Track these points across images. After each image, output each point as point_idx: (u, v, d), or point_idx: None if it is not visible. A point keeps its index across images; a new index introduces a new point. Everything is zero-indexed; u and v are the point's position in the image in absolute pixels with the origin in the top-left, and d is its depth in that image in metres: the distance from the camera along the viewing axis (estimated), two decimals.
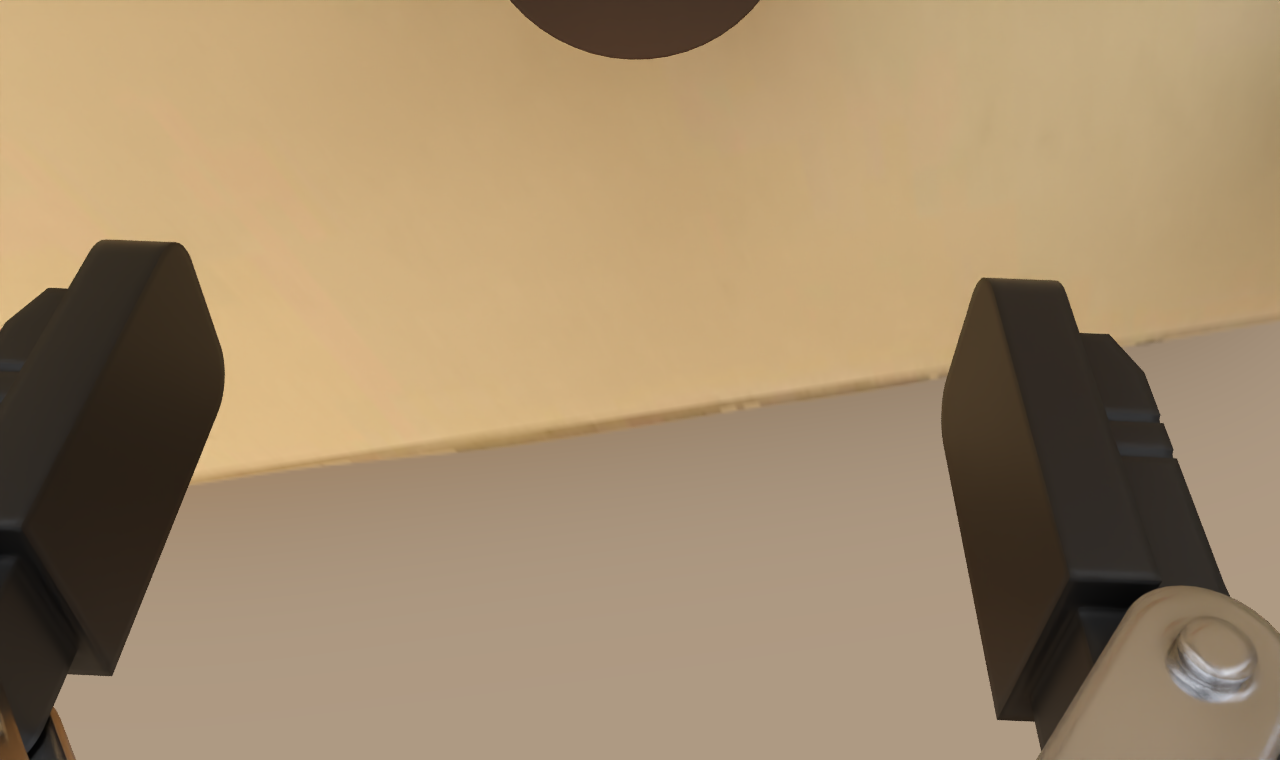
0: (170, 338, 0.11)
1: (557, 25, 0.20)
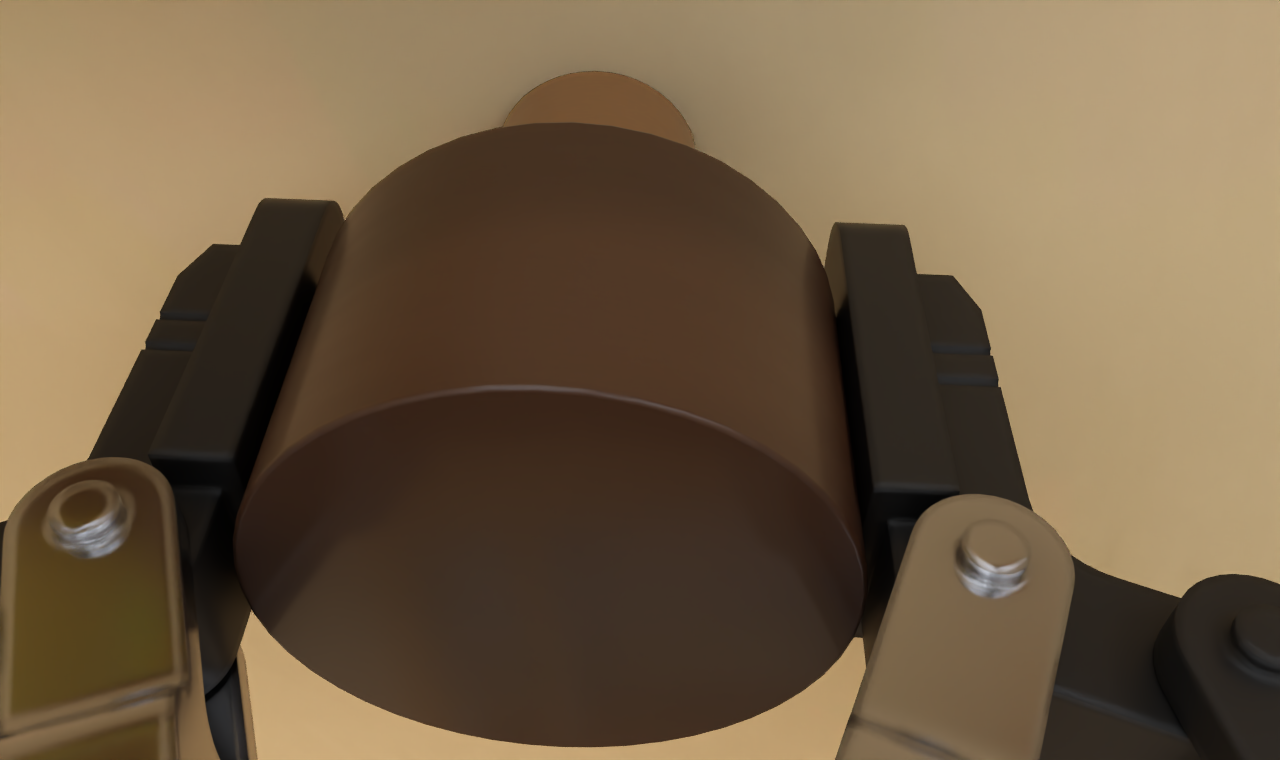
0: None
1: (426, 713, 0.11)
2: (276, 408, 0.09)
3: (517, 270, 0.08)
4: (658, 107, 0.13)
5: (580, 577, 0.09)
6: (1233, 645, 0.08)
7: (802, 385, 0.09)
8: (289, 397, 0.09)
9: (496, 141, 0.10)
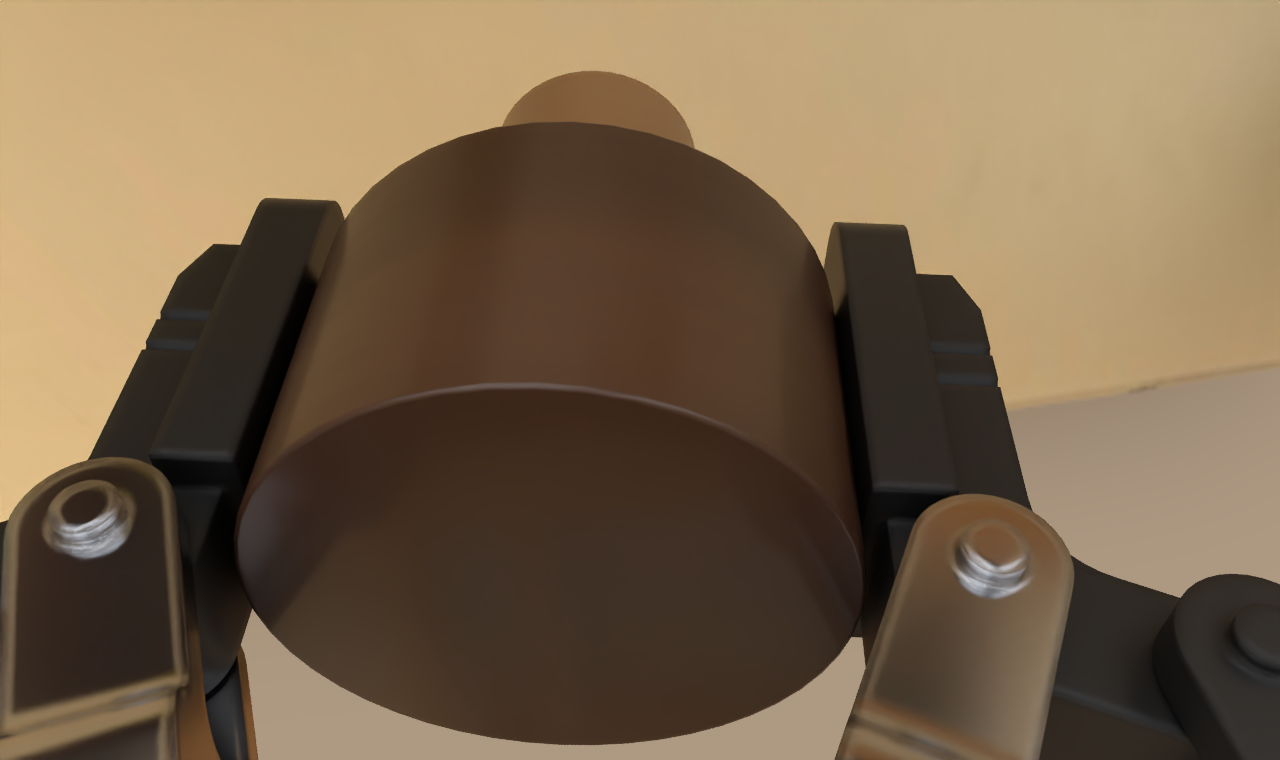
0: None
1: (426, 710, 0.11)
2: (277, 407, 0.09)
3: (517, 269, 0.08)
4: (657, 106, 0.13)
5: (579, 575, 0.09)
6: (1232, 645, 0.08)
7: (800, 383, 0.09)
8: (290, 396, 0.09)
9: (495, 140, 0.10)
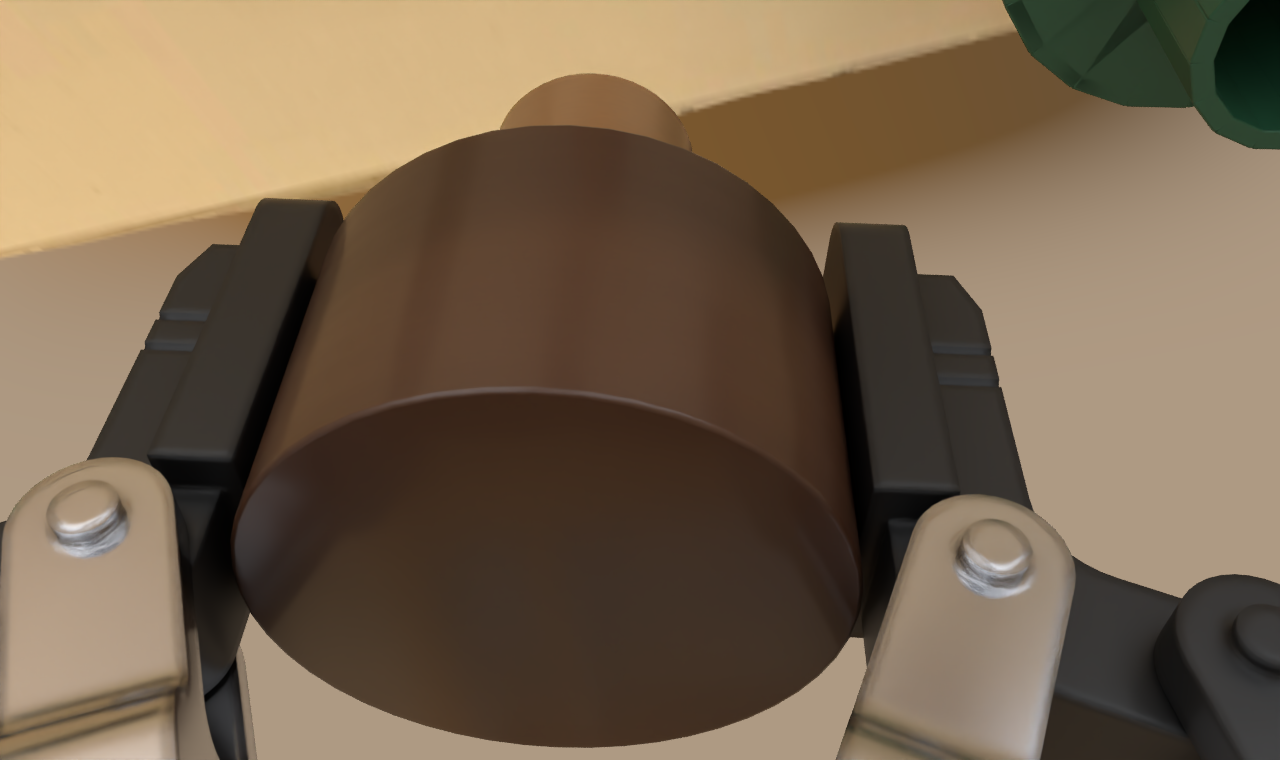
0: None
1: (423, 714, 0.11)
2: (274, 410, 0.09)
3: (513, 273, 0.08)
4: (654, 110, 0.13)
5: (575, 579, 0.09)
6: (1234, 645, 0.08)
7: (797, 387, 0.09)
8: (287, 399, 0.09)
9: (493, 144, 0.10)
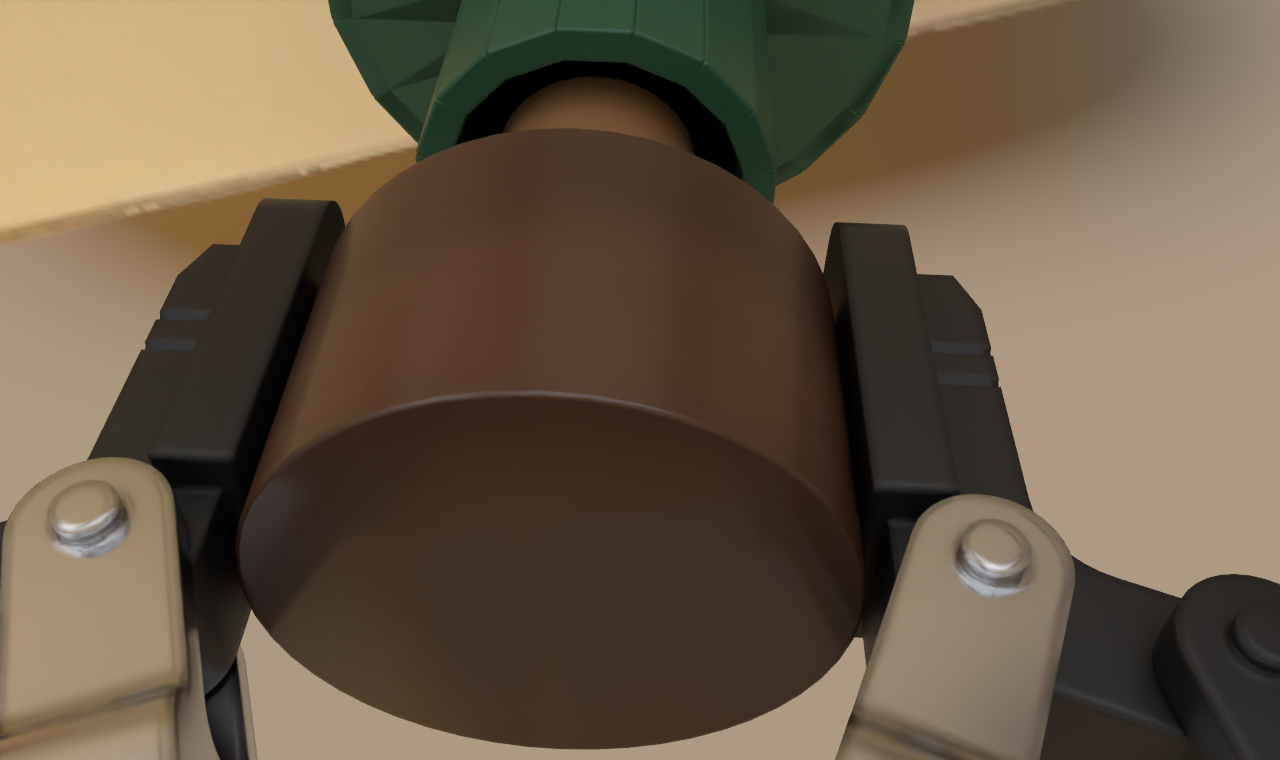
0: None
1: (426, 716, 0.11)
2: (278, 413, 0.09)
3: (518, 276, 0.09)
4: (657, 112, 0.13)
5: (580, 581, 0.09)
6: (1233, 645, 0.08)
7: (801, 390, 0.09)
8: (291, 402, 0.09)
9: (497, 147, 0.10)
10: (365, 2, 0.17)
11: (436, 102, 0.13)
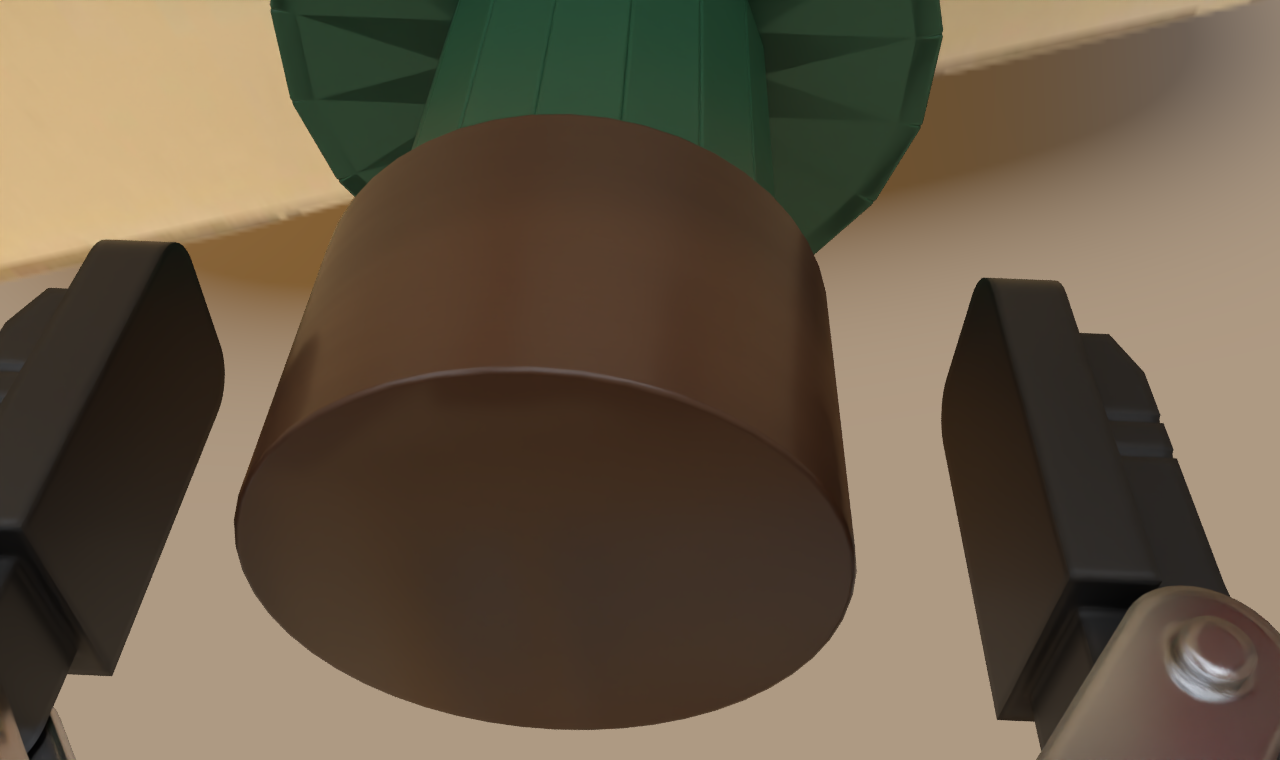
0: (170, 338, 0.11)
1: (423, 695, 0.11)
2: (277, 392, 0.09)
3: (513, 255, 0.09)
4: None
5: (574, 560, 0.09)
6: None
7: (792, 371, 0.09)
8: (290, 380, 0.09)
9: (494, 132, 0.10)
10: (327, 82, 0.16)
11: None
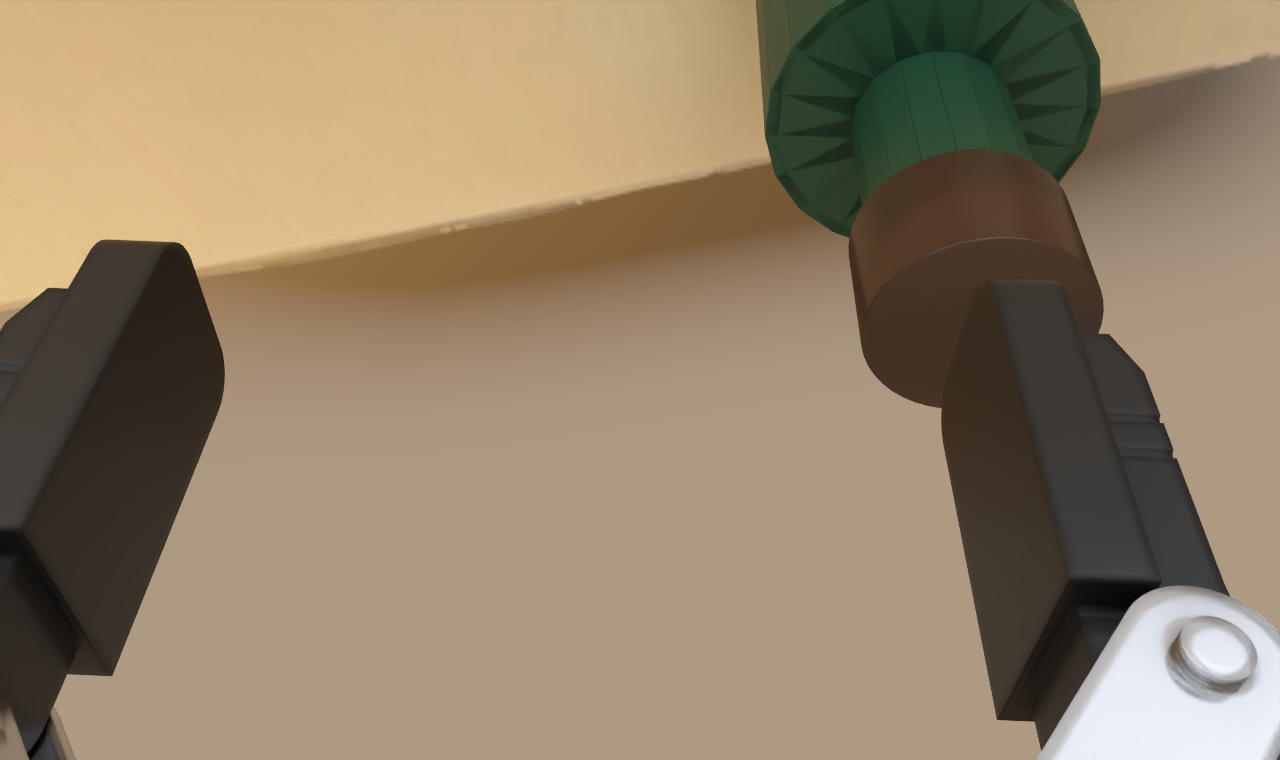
0: (170, 337, 0.11)
1: (905, 390, 0.27)
2: (885, 254, 0.25)
3: (986, 202, 0.24)
4: None
5: None
6: None
7: (1081, 244, 0.25)
8: (897, 248, 0.25)
9: (955, 156, 0.25)
10: (787, 127, 0.31)
11: None
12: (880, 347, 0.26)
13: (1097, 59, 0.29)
